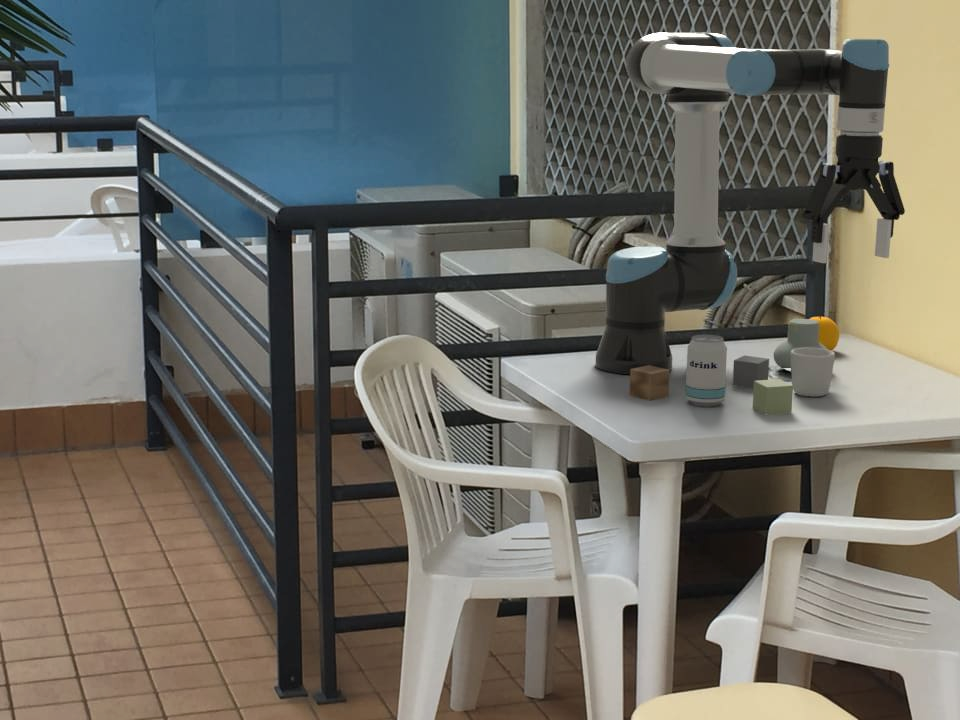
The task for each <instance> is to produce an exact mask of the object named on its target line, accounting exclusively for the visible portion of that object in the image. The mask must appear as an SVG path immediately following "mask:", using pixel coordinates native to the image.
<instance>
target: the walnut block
mask: <svg viewBox="0 0 960 720" xmlns="http://www.w3.org/2000/svg"><path fill="white" fill-rule="evenodd" d="M670 371H671V369H670V370H667V369H663V368H659V367H655V366H650V365H648V366H643V367H638V368H633V369H631V372H630V374H629V375H630V377H629V378H630V379H629V396H631V397H635V398H638V399H643V400H646V401H654V400H657V399H663V398H667V397H669V392H670Z"/></svg>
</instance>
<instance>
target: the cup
mask: <svg viewBox="0 0 960 720" xmlns="http://www.w3.org/2000/svg"><path fill="white" fill-rule="evenodd" d="M835 358H836V352H834V351H833V350H827V349H822V348H812V347H804V348H796V349H793V350H791V372H790V373H791V385H793V393H794V394H796V395H799V396H802V395H803V397H808V396H809V397H810V398H811V397H812V398H817V397H822V396H826V395H827V394H828V393H829V392H830V388H831V381H832V375H833V370H834V365H835Z"/></svg>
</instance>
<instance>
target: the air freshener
mask: <svg viewBox="0 0 960 720" xmlns="http://www.w3.org/2000/svg"><path fill="white" fill-rule="evenodd" d="M787 325H788V326H787V329H788V330H787V340H786V341H784V342H781V343H780V344H779V345H778V346H776V348H775V349H774V351H773V361H774V362H775V364H777V366H778V367H779V368H780V369H782V368H791V350H793V349H796V348H804V347H812V348H822V349H827V348H826V347H825V346H824V345H822V344H820V343H819V342H818V338H819V323H818V322H817V321H815V320H810V318H792V319H790V320H789V321H788V324H787ZM827 350H828V349H827Z"/></svg>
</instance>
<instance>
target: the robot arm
mask: <svg viewBox="0 0 960 720" xmlns="http://www.w3.org/2000/svg"><path fill="white" fill-rule="evenodd" d="M889 50H890V47H889V43H888V42H887V41H886V40H885V39H879V38H874V39H873V38H871V39H870V38H847V39H844V41H843V43H842V48H841V50H838V49H837V50H836V49H825V48H820V47H819V48H809V49H763V48H741V47H740V48H739V47H737V46H735V45H734V44H733V41H732V40H731V39H730V38H729V37H728V36H726V35H723V34H720V33H713V32H705V31H703V32H655V33H651V34H647V35H645V36H643V37H641V38H639V39H638V40H637V41H636V42H635V43H634V44H633V45H632V46H631V48H630V50H629V51H628V54H627V56H626V64H625V65H626V73H627V75H628V78H629V80H630V81H631V82H632V84H634V85H635V87H637V88H638V89H639V90H641V91H644V92H645V93H648V94H653V95H655V94H656V95H667V105H668V106H669V107H671V109H672V110H673V111H674V112H675V120H674V121H675V123H674V124H675V129H674V130H675V131H674V132H675V133H674V134H675V135H674V139H675V141H674V153H675V154H674V211H673V212H674V214H673V217H674V219H673V223H674V225H673V227H674V228H673V234H672V236H671V237H670V238H669V239H668V240H667V241H666V244H665V245H666V246H665V247H666V248H664V247H662V246H657V245H656V246H655V245H653V246H652V245H649V246H648V245H645V246H633V247H629V248H628V247H627V248H623V249H620V250H617V251H615V252H614V253H612V254H611V255H610V257H609V258H608V260H607V265H606V267H607V268H606V272H605V280H606V285H605V286H606V288H605V289H606V290H605V293H606V294H605V325H604V326H605V327H604V330H603V333H602V337H601V339H600V341H599V344H598V347H597V351H596V353H595V367H596V368H597V369H600V370H602V371H605V372H608V373H613V374H614V373H615V374H621V375H622V374H623V375H630V372H631V369H633V368H638V367H643V366H648V365H650V366H655V367H659V368H663V369H667V370H670V371H671V370H672V369H673V354H672V351H671V347H670V343H669V340H668V337H667V334H666V333H667V332H666V329H665V326H666V325H665V323H666V322H665V321H666V318H665V317H666V313H674V312H681V311H682V312H683V311H693V310H700V311H704V310H708V309H712V308H713V309H714V308H718V307H720V306H723V305H724V304H725V303H726V302H727V301H728V299H730V298H731V296H732V294H733V293H734V291H735V288H736V284H737V279H738V267H737V263H736V262H735V258H734V256H733V254H732V253H731V252H730V251H728V250H727V249H726V241H725V240H724V239H722V237H720V235H719V234H718V232H719V231H718V230H719V229H718V228H719V227H718V224H719V223H718V222H719V176H720V175H719V173H720V172H719V171H720V170H719V166H720V165H719V164H720V163H719V162H720V121H721V119H720V117H721V116H720V113H721V110H722V109H723V108H725V107H726V106H727V104H728V102H729V101H728V100H729V94H731V93H734V94H736V95H738V96H747V97H758V96H773V95H774V96H777V95H778V96H779V95H780V96H781V95H785V96H786V95H787V96H788V95H789V96H790V95H791V96H792V95H795V96H796V95H797V96H798V95H799V96H801V95H828V96H832V95H833V96H839V98H838V110H837V123H836V130H837V131H838V132H839V133H838V134H837V135H836V137H835V138H836V140H835V155H836V157H837V162H836V164H833V163H826V162H823V163H822V164H821V165H820V170H819V176H818V178H817V181H816V183H815V185H814V188H813V190H812V192H811V194H810V196H809V199H808V200H807V202H806V203H807V204H806V205H805V207H804V210H803V212H802V215H801V217H802V219H803V220H806V221H808V222H810V223H811V232H810V233H811V234H810V240H811V242H812V243H813V245H812V246H813V247H812V262H816V263H821V264H827V261H828V247H829V246H828V243H829V231H830V229H829V227H830V224H828V223H826V221H827V220H828V218H829V217H830V216H831V214H832V213H833V212H834V211H835V209H836V207H837V206H838V204H839V203H840V202H841V200H842V199H843V198H844V196H845V195H846V194H847V193H849V192H850V191H857V190H865V191H866V193H867V194H868V196H869V197H870V199H871V201H872V202H873V204H874V206H875V207H876V209H877V211H878V212H879V214H880V216H881V217H878V218H877V219H876V221H877V222H876V232H875V245H874V257H879V258H884V259H889V258H890V250H891V249H890V247H891V238H893V236H894V228H895V227H894V226H895V221H898V220H899V219H900V217H901V216H903V215H905V213H906V211H905V210H906V209H905V207H904V203H903V200H902V197H901V194H900V190H899V187H898V184H897V182H896V177H895V174H894V173H895V166H894V165H895V164H894V162H893V161H888V160H879V158H880V157H881V156H882V154H883V141H884V138H883V137H882V135H881V134H880V133H882V132H884V125H885V111H886V98H887V86H888V75H889V68H890V61H889V59H890V58H889V55H890V53H889ZM877 175H878V178H879V180H878V178H877ZM835 177H836V178H835ZM900 215H901V216H900Z"/></svg>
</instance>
